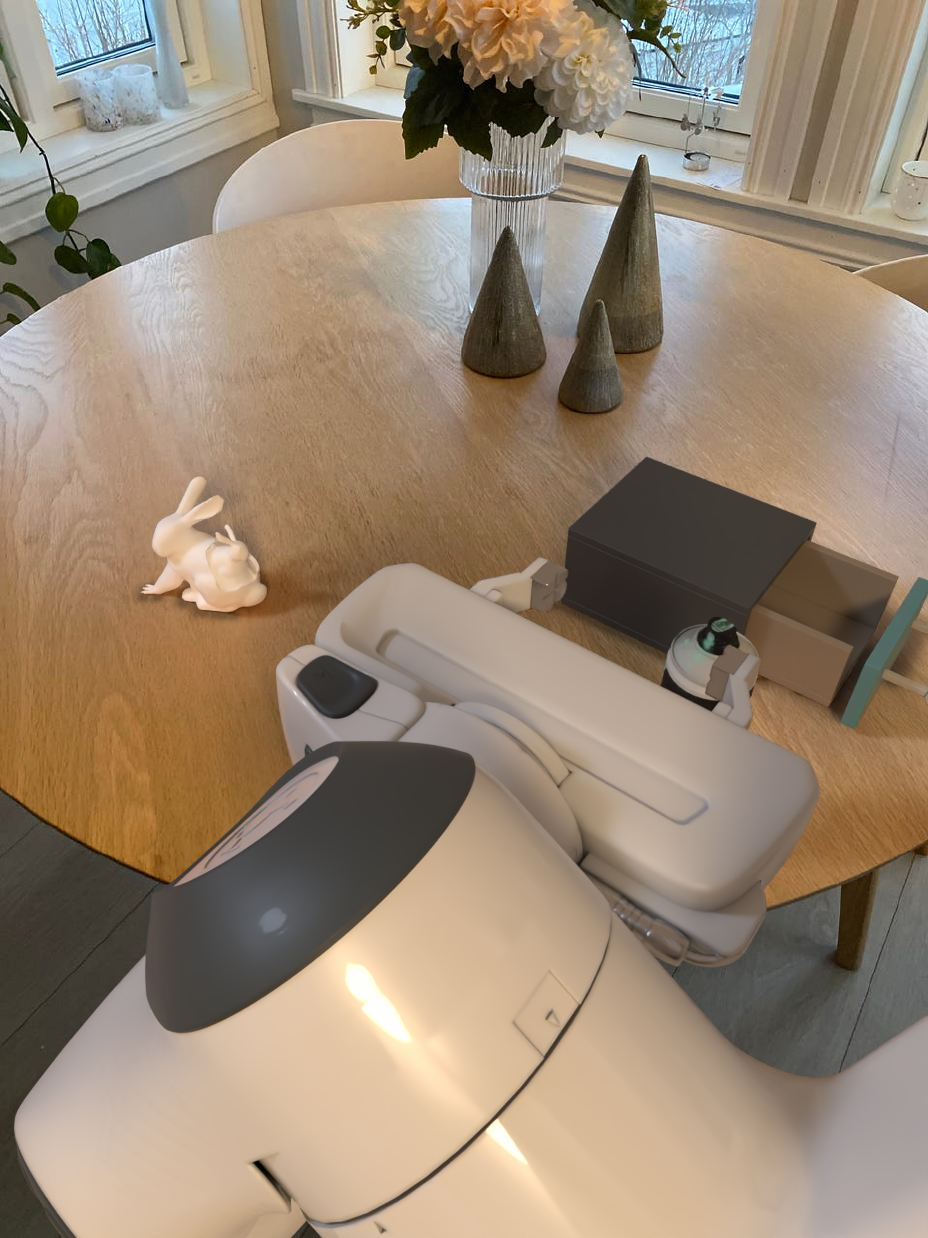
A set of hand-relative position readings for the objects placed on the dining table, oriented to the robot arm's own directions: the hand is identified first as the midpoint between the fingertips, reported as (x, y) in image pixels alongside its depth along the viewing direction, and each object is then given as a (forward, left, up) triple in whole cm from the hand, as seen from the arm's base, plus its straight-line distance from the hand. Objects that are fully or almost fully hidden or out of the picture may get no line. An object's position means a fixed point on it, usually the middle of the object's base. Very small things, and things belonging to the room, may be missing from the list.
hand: (644, 615), depth 42 cm
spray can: (0, -12, -30) cm, 32 cm away
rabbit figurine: (+46, -10, -30) cm, 56 cm away
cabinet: (+11, -34, -30) cm, 47 cm away
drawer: (-2, -34, -29) cm, 45 cm away
